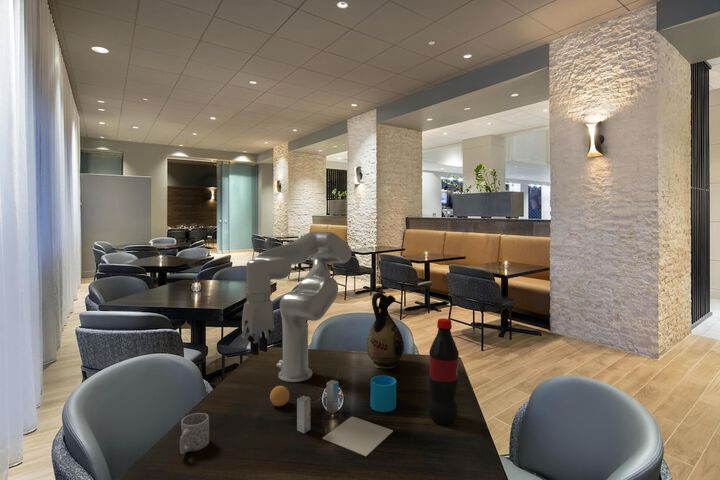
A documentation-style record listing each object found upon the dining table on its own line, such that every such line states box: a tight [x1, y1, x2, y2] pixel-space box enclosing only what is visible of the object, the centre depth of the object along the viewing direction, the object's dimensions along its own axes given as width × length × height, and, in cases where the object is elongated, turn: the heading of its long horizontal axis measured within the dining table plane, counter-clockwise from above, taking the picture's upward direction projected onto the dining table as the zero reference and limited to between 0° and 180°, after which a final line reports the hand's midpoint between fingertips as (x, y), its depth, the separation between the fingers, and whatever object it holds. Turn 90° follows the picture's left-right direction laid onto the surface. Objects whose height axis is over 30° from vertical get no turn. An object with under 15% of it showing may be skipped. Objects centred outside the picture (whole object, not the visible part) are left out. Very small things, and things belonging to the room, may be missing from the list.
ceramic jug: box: [365, 292, 405, 370], centre depth 155 cm, size 17×15×30 cm
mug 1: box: [179, 412, 210, 455], centre depth 98 cm, size 10×7×7 cm, turn 174°
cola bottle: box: [427, 317, 459, 425], centre depth 113 cm, size 8×8×30 cm
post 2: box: [326, 379, 339, 414], centre depth 118 cm, size 3×3×9 cm
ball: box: [269, 385, 290, 407], centre depth 121 cm, size 6×6×6 cm
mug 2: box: [369, 375, 397, 413], centre depth 124 cm, size 12×8×8 cm
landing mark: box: [322, 416, 394, 457], centre depth 105 cm, size 14×14×1 cm
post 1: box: [296, 395, 311, 434], centre depth 107 cm, size 3×3×9 cm
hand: (258, 352), depth 126 cm, fingers open, 3 cm apart
